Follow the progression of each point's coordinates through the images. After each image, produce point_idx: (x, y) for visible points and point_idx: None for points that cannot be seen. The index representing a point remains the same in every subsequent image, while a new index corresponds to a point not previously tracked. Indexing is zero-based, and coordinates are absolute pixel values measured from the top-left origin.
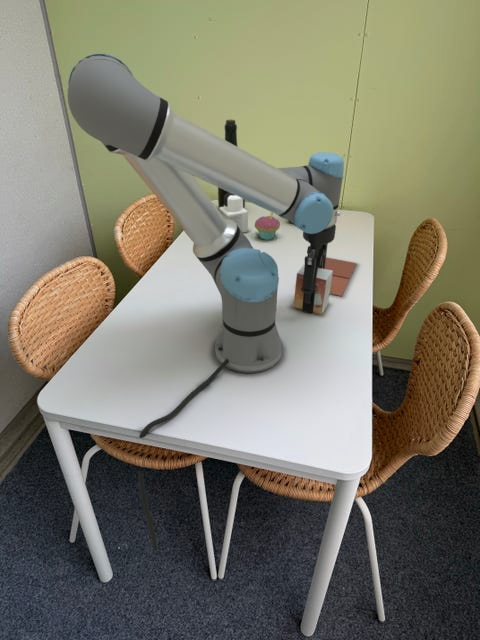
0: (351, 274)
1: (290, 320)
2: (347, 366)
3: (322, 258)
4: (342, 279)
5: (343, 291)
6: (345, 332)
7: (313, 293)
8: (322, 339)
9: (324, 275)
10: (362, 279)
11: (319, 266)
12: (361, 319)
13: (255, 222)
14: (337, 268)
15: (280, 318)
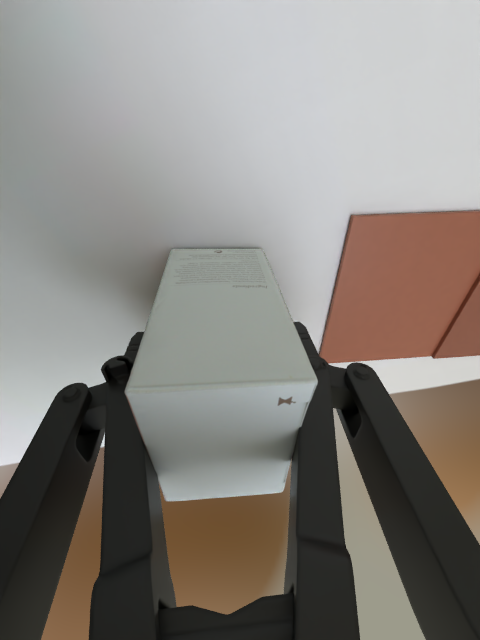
0: (461, 354)
1: (79, 268)
2: (20, 437)
3: (285, 579)
4: (427, 341)
5: (346, 361)
6: None
7: None
8: (66, 379)
9: (205, 490)
10: (431, 378)
11: (292, 466)
12: None
13: None
14: None
15: (57, 224)
